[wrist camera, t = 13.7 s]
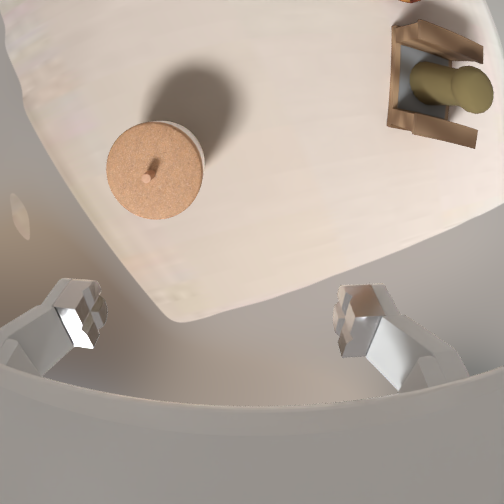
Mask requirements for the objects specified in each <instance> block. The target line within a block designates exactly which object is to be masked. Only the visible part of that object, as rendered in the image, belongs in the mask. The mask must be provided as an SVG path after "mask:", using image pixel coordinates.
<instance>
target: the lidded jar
mask: <svg viewBox="0 0 504 504" xmlns="http://www.w3.org/2000/svg"><path fill="white" fill-rule="evenodd" d="M204 170H205V159H204V153H203V150H202V147H201V145H200V143H199V141H198V140H197V138H196V137H195V136H194V135H193V134H192V133H191V132H190V131H189V130H188V129H186V128H185V127H183V126H181V125H179V124H177V123H174V122H170V121H152V122H146V123H142V124H139V125H136V126H134V127H131V128H130V129H128V130H126V131H125V132H124V133H123V134H121V135H120V136H119V137H118V139H117V140H116V141H115V142H114V144H113V146H112V148H111V150H110V152H109V155H108V159H107V167H106V171H107V179H108V183H109V186H110V189H111V191H112V193H113V194H114V196H115V198H116V199H117V200H118V202H119V203H120V204H121V205H122V206H123V207H124V208H126V209H127V210H128V211H130V212H131V213H133V214H135V215H137V216H140V217H143V218H147V219H166V218H170V217H173V216H175V215H177V214H179V213H181V212H182V211H184V210H185V209H186V208H187V207H188V206H190V205H191V203H192V202H193V201H194V199H195V198H196V196H197V194H198V192H199V190H200V187H201V184H202V179H203V176H204Z"/></svg>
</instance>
